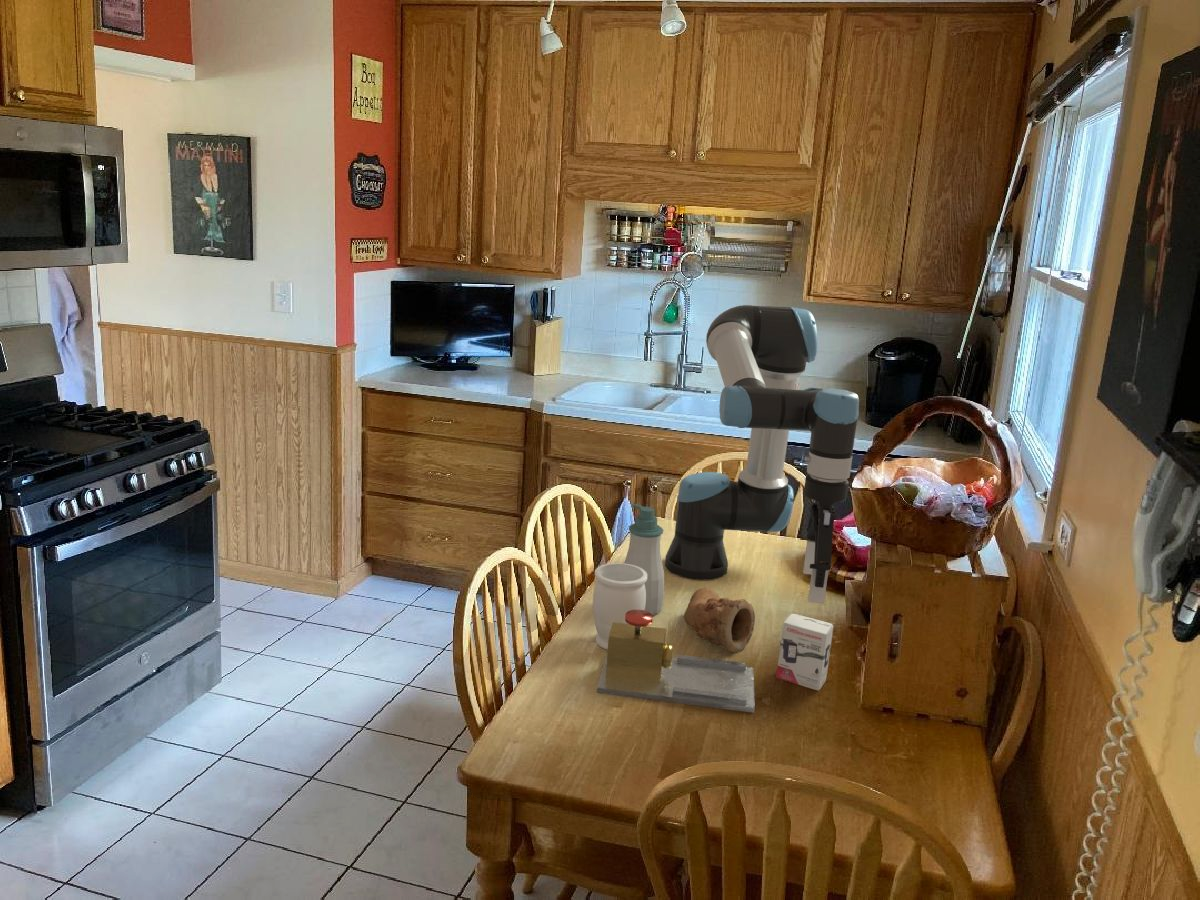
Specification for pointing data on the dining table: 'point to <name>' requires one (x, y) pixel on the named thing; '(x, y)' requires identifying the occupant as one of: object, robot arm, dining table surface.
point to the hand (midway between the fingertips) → (813, 587)
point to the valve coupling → (670, 670)
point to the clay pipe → (720, 619)
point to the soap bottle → (648, 556)
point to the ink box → (804, 651)
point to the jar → (616, 596)
